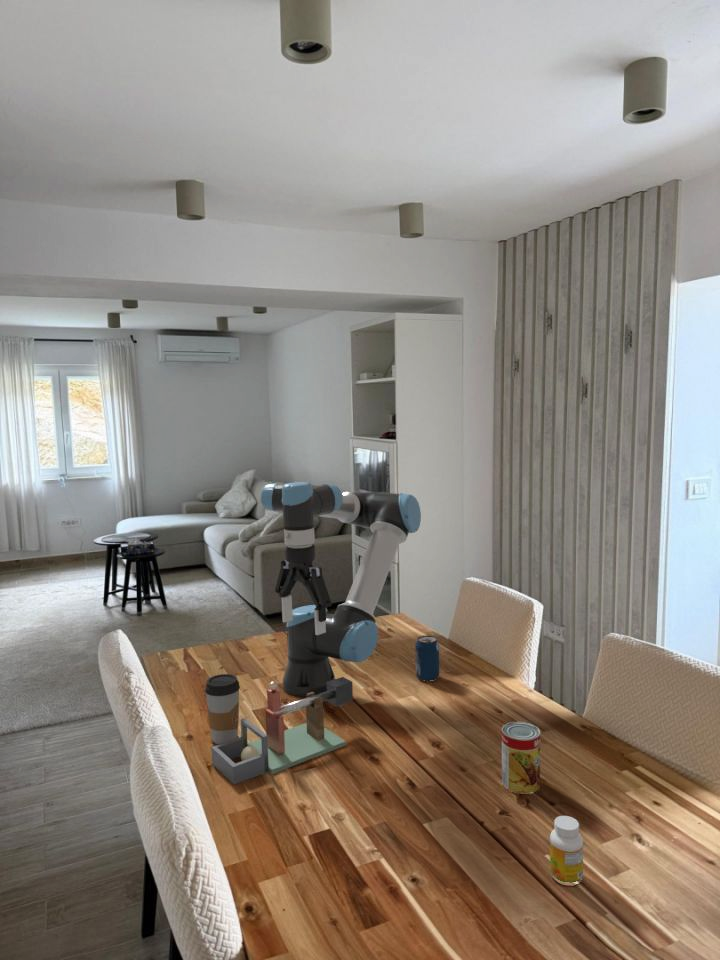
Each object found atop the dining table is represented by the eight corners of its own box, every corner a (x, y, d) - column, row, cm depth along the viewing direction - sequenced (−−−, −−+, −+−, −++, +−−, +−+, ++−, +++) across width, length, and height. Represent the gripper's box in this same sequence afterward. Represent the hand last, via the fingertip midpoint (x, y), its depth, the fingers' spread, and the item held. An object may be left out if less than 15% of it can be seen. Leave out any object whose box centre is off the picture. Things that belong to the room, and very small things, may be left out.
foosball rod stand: (341, 717, 171) (340, 656, 169) (355, 726, 166) (354, 663, 165) (265, 745, 158) (262, 678, 156) (278, 755, 153) (275, 687, 151)
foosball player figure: (313, 734, 165) (311, 691, 164) (324, 742, 162) (323, 697, 160) (307, 736, 164) (305, 693, 163) (318, 744, 160) (316, 700, 159)
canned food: (546, 792, 138) (546, 737, 137) (510, 797, 137) (510, 741, 136) (530, 772, 146) (530, 719, 145) (496, 776, 145) (496, 723, 144)
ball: (237, 745, 152) (237, 762, 153) (246, 752, 149) (245, 770, 150) (253, 741, 155) (253, 758, 155) (262, 748, 152) (261, 765, 152)
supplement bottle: (544, 866, 116) (545, 814, 115) (575, 864, 117) (575, 811, 116) (556, 888, 111) (557, 833, 110) (588, 886, 111) (588, 831, 110)
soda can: (443, 676, 199) (442, 637, 198) (433, 684, 194) (432, 644, 192) (422, 671, 203) (421, 633, 202) (411, 679, 197) (411, 640, 196)
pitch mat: (313, 724, 171) (313, 720, 171) (345, 745, 160) (345, 741, 160) (242, 749, 159) (242, 745, 159) (272, 774, 148) (272, 769, 148)
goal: (245, 751, 158) (244, 718, 157) (268, 771, 149) (267, 735, 148) (212, 763, 153) (210, 729, 152) (234, 784, 144) (232, 748, 143)
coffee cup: (234, 748, 159) (231, 688, 158) (201, 745, 161) (198, 685, 160) (247, 731, 168) (244, 674, 166) (215, 729, 169) (213, 672, 168)
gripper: (258, 540, 173) (263, 619, 176) (319, 555, 155) (323, 643, 158) (282, 535, 178) (286, 612, 181) (343, 549, 160) (347, 634, 163)
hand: (303, 627), depth 169 cm, fingers open, 13 cm apart
